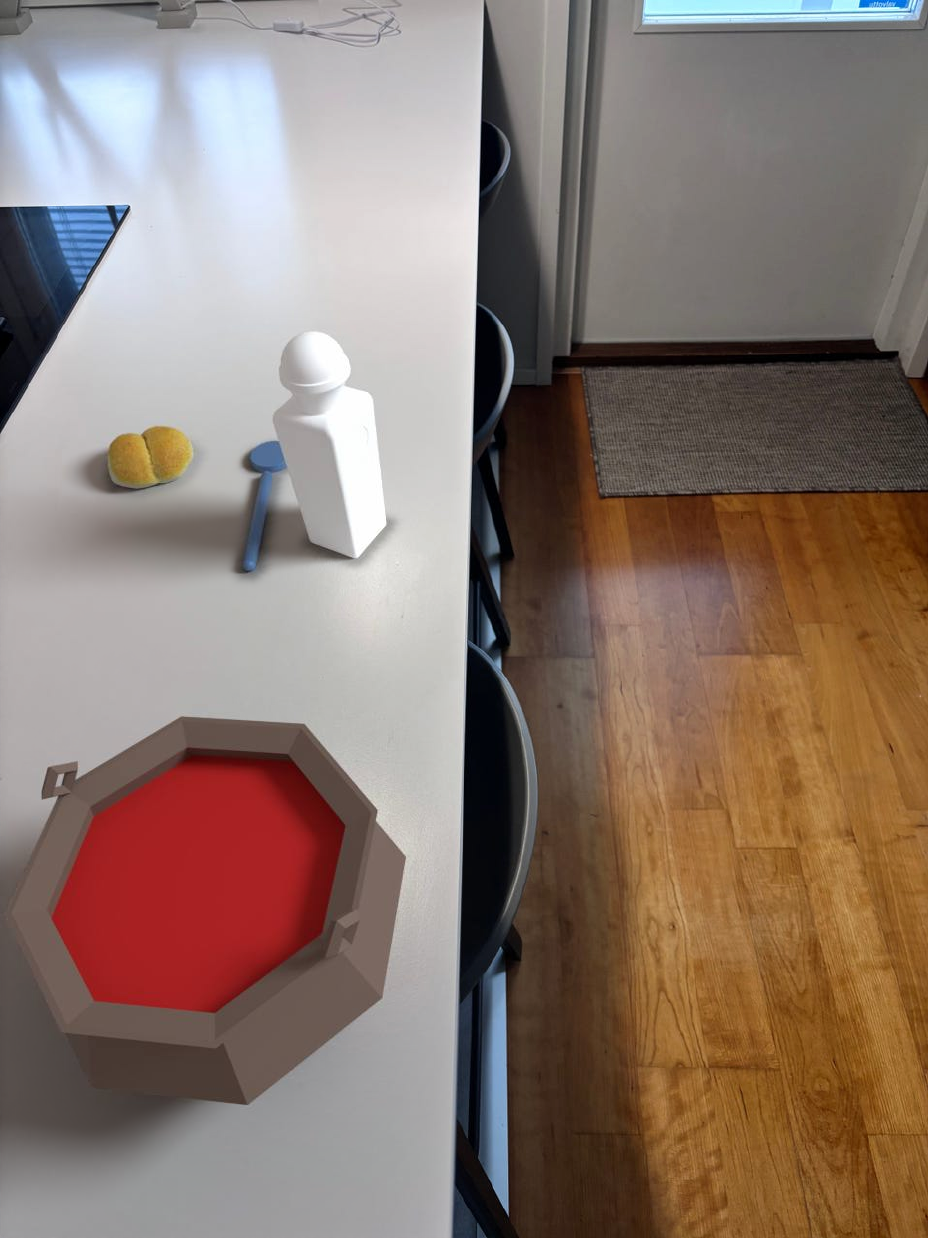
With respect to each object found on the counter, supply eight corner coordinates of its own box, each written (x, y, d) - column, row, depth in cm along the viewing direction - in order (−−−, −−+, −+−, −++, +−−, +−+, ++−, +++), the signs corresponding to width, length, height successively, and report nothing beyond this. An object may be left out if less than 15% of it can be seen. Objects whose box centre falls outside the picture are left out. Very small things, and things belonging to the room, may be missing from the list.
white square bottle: (357, 564, 91) (317, 366, 74) (302, 544, 93) (251, 347, 77) (394, 522, 94) (362, 325, 78) (340, 503, 97) (298, 308, 80)
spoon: (272, 572, 91) (270, 563, 90) (227, 575, 91) (224, 566, 90) (294, 446, 104) (292, 437, 103) (254, 448, 104) (252, 439, 103)
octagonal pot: (-2, 1028, 64) (-131, 925, 51) (223, 757, 77) (163, 624, 65) (287, 1229, 55) (213, 1163, 43) (483, 884, 68) (470, 759, 56)
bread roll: (201, 477, 101) (191, 447, 98) (116, 499, 99) (103, 470, 96) (189, 433, 106) (179, 403, 103) (108, 454, 105) (96, 424, 102)
